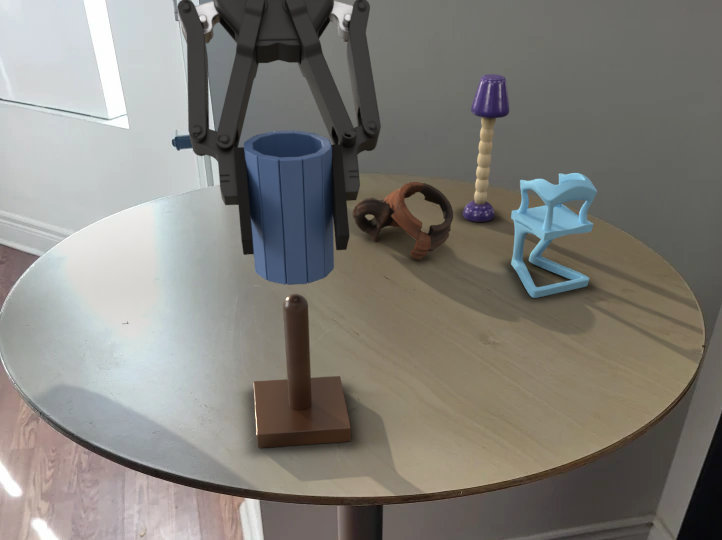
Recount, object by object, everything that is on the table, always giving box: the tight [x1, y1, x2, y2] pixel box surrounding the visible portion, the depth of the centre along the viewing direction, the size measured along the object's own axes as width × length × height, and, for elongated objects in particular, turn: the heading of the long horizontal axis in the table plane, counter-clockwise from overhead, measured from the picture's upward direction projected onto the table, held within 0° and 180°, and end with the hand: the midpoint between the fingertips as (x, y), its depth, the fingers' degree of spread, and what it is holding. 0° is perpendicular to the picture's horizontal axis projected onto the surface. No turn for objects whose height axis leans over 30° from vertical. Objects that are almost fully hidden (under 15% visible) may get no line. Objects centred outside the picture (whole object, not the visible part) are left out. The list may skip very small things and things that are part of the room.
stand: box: [252, 293, 352, 449], centre depth 66 cm, size 8×8×12 cm
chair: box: [510, 172, 598, 299], centre depth 87 cm, size 8×8×12 cm
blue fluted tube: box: [243, 129, 335, 286], centre depth 57 cm, size 6×6×9 cm
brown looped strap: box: [352, 181, 454, 261], centre depth 94 cm, size 12×10×8 cm
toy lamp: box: [462, 73, 510, 223], centre depth 98 cm, size 5×5×17 cm
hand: (295, 244), depth 55 cm, fingers closed on blue fluted tube, 6 cm apart
